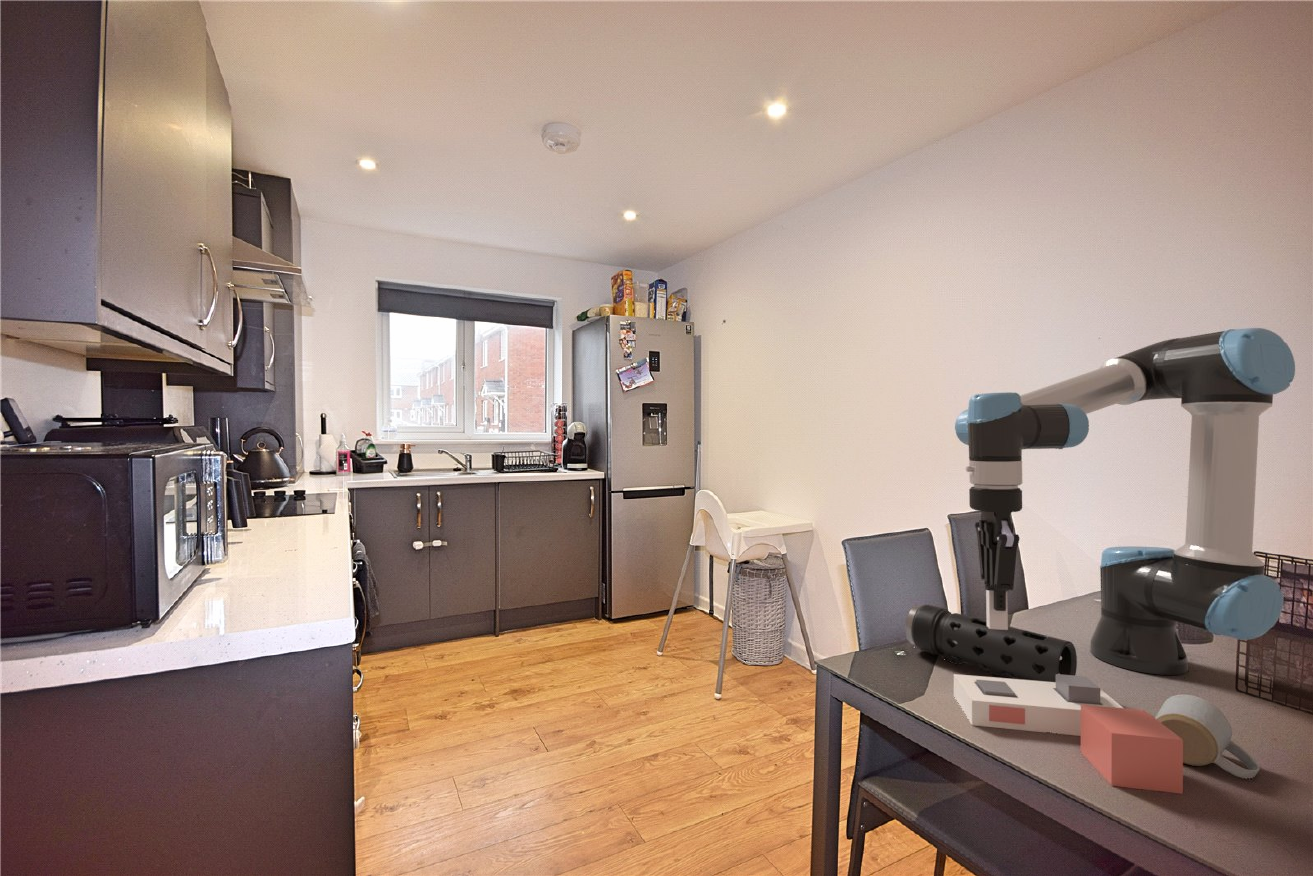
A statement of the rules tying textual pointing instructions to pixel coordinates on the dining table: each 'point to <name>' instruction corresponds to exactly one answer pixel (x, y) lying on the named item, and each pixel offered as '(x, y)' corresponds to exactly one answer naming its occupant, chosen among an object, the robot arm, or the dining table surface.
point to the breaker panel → (1022, 706)
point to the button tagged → (995, 688)
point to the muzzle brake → (989, 645)
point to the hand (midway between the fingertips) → (997, 627)
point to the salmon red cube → (1132, 748)
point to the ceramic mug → (1204, 734)
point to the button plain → (1077, 689)
